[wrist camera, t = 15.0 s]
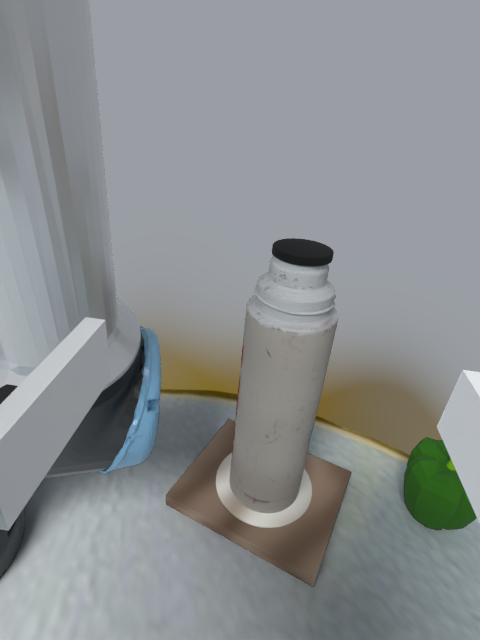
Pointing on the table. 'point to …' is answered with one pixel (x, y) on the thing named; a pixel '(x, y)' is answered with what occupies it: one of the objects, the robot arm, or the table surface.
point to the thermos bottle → (282, 374)
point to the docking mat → (263, 528)
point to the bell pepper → (435, 488)
